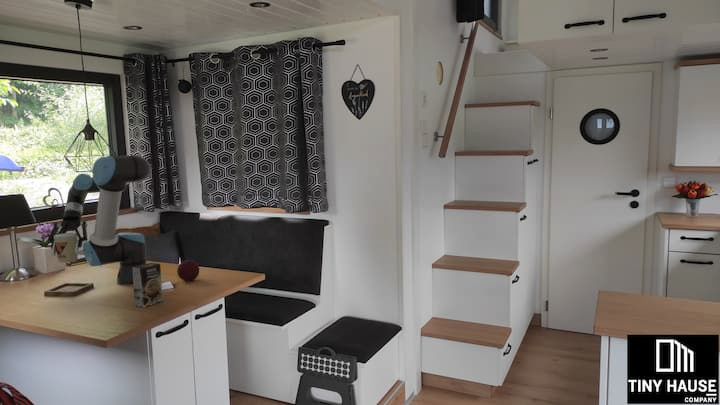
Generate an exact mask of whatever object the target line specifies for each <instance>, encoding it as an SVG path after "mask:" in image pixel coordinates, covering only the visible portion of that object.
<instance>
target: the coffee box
mask: <svg viewBox="0 0 720 405" xmlns="http://www.w3.org/2000/svg"><path fill="white" fill-rule="evenodd" d="M132 268H133V284H132V285H133V296H134V306H136V305H139V306H138V307H140V306H143V307H142V308H145V307H144V306H147V305H150V304H154V303H157V302H160V303H162V302H161V301H164V300H163V287H162V286H163V284H162V269H161V263H156V262H155V263H154V262H148V263H146V264H144V265H139V266H135V267H132ZM157 304H158V303H157ZM154 305H155V304H154Z"/></svg>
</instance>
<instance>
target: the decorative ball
mask: <svg viewBox="0 0 720 405" xmlns="http://www.w3.org/2000/svg"><path fill="white" fill-rule="evenodd" d="M176 272H177V276H178V277H179V279H180V280H182V281H185V282H191V281H194V280H195V279H197V278H198V276H199V274H200V266H199V264H198V263H197V262H196V261H195V260H191V259H186V260H182V261H181V262H180V264H179V265H178V266H177V271H176Z"/></svg>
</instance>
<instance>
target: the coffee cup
mask: <svg viewBox="0 0 720 405" xmlns="http://www.w3.org/2000/svg"><path fill="white" fill-rule="evenodd" d="M77 239H78V236H77V234H76V232H66V233H63V234H58V235H55V236H54V240H55V246H56V257H57V261H58V263H70V262H75V261H78V260H79V259H78V258H79V257H78V256H79V254H78V255H76V253H75V246H76V241H77Z"/></svg>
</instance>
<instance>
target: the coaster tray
mask: <svg viewBox="0 0 720 405" xmlns="http://www.w3.org/2000/svg"><path fill="white" fill-rule="evenodd" d="M94 284H95V283H94V282H93V283H92V282H64V283H61V284H60V285H56V286H54V287H51V288H50V289H47V290H44V291H43V294H44V295H43V296H44V297H76V296H78V295H81V294H83V293H85V292H87V291H89V290H91V289H94V288H95V285H94Z"/></svg>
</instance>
